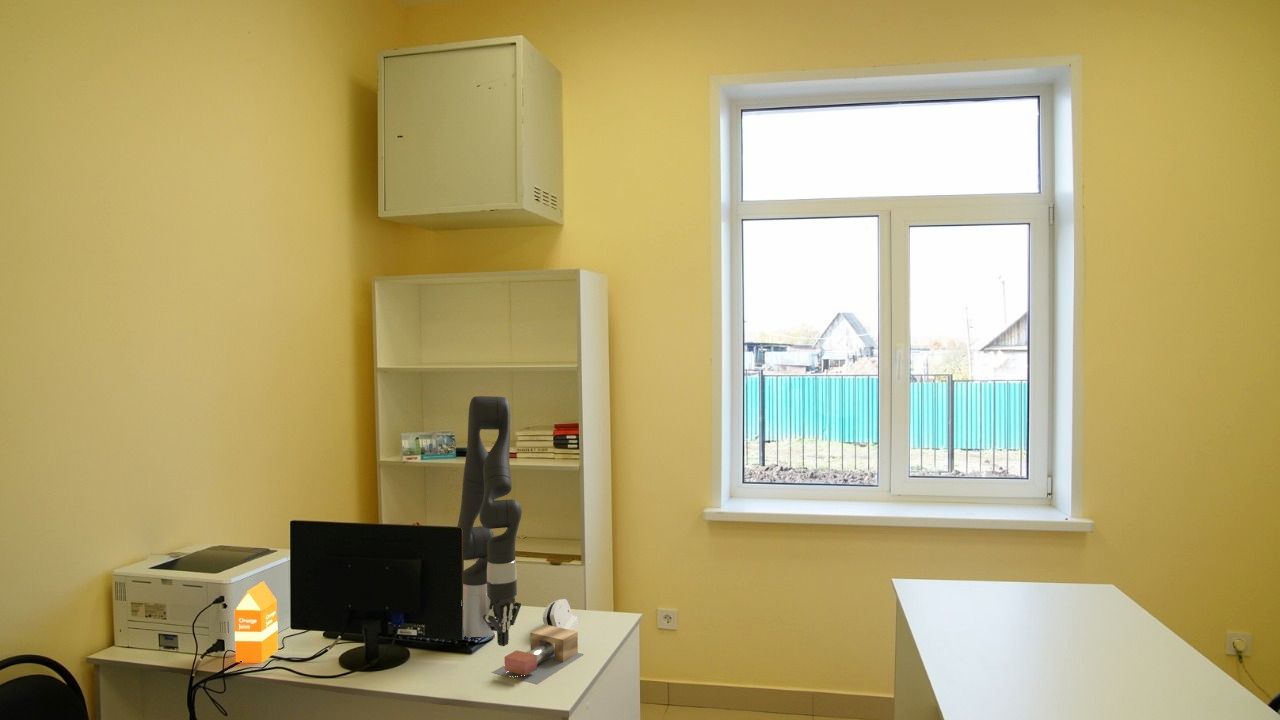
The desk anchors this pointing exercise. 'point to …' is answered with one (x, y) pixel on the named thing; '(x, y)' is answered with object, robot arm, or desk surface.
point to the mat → (539, 670)
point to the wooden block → (556, 641)
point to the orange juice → (256, 625)
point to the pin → (528, 659)
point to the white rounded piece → (560, 615)
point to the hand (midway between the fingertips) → (503, 644)
